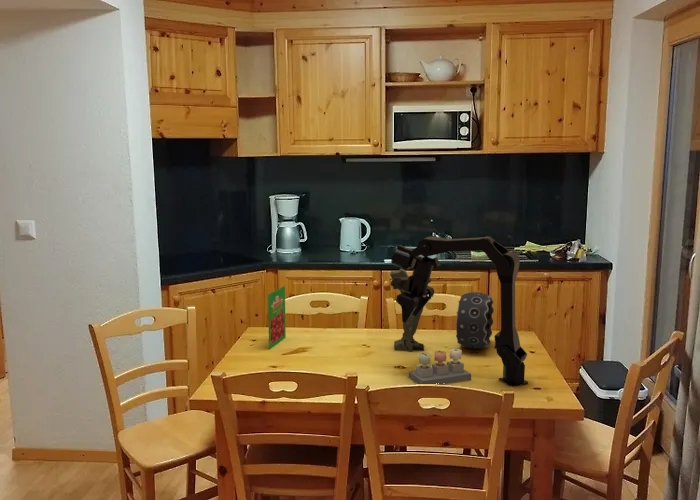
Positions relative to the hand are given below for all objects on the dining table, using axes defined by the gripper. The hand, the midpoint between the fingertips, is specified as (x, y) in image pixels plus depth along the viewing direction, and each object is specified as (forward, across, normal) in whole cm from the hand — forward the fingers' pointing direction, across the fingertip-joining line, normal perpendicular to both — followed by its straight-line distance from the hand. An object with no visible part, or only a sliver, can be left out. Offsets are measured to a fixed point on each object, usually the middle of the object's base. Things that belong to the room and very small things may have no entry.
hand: (409, 319), depth 212 cm
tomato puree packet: (+28, +1, -46) cm, 54 cm away
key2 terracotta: (+8, +8, +16) cm, 20 cm away
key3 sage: (+9, +12, +13) cm, 20 cm away
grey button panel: (+12, +8, +17) cm, 22 cm away
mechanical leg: (+17, -16, -3) cm, 23 cm away
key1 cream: (+7, +4, +20) cm, 21 cm away
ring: (+12, -28, +17) cm, 35 cm away
